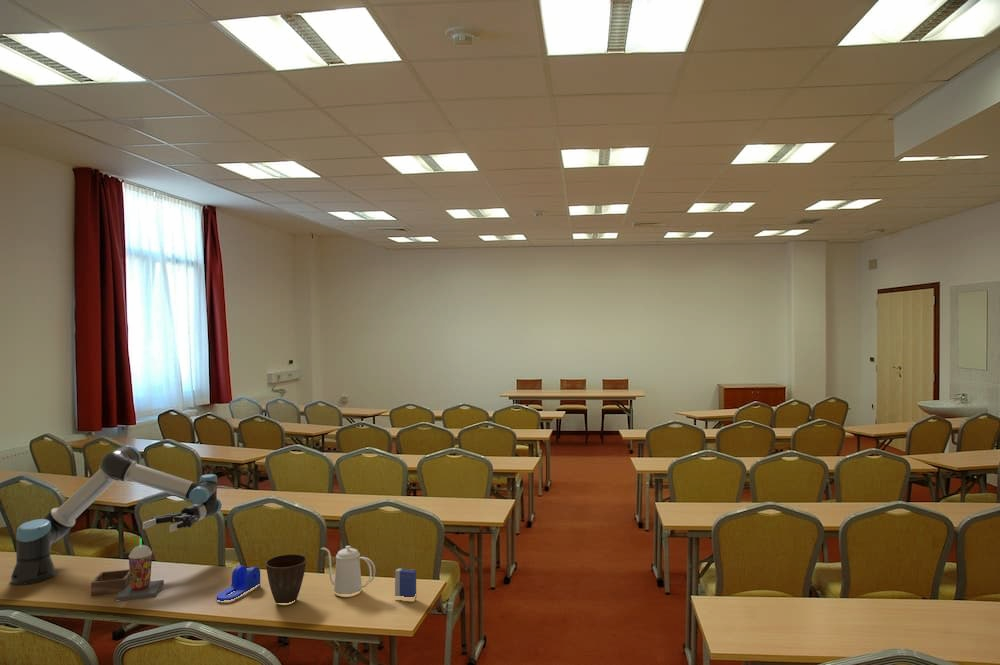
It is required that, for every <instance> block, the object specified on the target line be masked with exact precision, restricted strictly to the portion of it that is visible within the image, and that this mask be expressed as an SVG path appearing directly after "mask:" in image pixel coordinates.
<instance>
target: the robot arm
mask: <svg viewBox="0 0 1000 665" xmlns="http://www.w3.org/2000/svg"><path fill="white" fill-rule="evenodd" d="M141 460H142V456H141V453H140V451H139V450H138V449H137V448H136V447H135V446H131V445H122V446H119V447H118V448H116V449H114V450H111V451H109V452H107V453H106V454H105V455H104V456H102V459H101V461H100V464H99V465H98V466H99V469H98V470H97V471H96V472H95V473H94V474H93V475H92V476H91V477H89V478H88V480H87V481H85V482H84V484H82V486H80V487H79V488H78V489H76V491H74V493H73V494H72V495H70V496H69V497H68V498H67V500H66V501H64V502H63V503H62V504H61V505H60V506H59V507H54V508H52V509H50V511H48V512H47V514H46V515H44V516H43V517H42V518H38V519H33V520H30V521H26V522H23V523H22V524H20V525H18V528H17V529H16V534H15V537H16V538H15V539H16V552H15V553H16V554H15V555H16V556H15V557H16V563H15V565H14V568H13V570H12V573H11V575H10V583H11V582H12V583H11V584H13V583H15V584H14V585H25V584H24V583H31V584H35V583H34V582H36V583H40V582H43V581H46V580H48V578H49V579H51V578H53V577H54V576H55V575H56V567H55V565H54V562H53V560H52V556H51V547H52V545H53V544H54V543H56V542H57V541H59V540H60V539H62V538H63V539H64V538H65V537H66V535H67V534H68V533H69V531H70V530H71V529H72V528H73V527H74V526H75V525H76V519H77V518H79V517H80V516H81V514H82V513H83V512H85V510H86V509H88V508H89V506H91V505H92V504H93V503H94V502H95V501H96V500H97V499H99V497H100V496H101V495H102V494H103V493H104V492H105V491H107V489H108V488H109V487H111V486H112V485H113V484H114V482H126V483H127V482H128V481H130V482H133V483H136V484H139V485H143V486H145V487H149V488H152V489H155V490H159V491H162V492H165V493H169V494H172V495H175V496H177V497H181V498H182V499H183V498H184V499H187V500H189V501H190V502H191V503H192V505H190V506H187V507H184V508H183V509H181V511H180V512H177V513H174V512H171V513H168V514H167V513H166V514H162V515H155V516H151V517H150V520H145V521H143V522H142V530H146V529H149V528H152V527H155V526H156V525H159V524H166V523H171V524H169V533H172V532H175V531H177V530H180V529H183V528H191V527H192V526H193V525H194V524H195V523H196V522H199V521H201V520H203V519H205V518H208V517H212V516H215V515H216V514H218V513H219V512H220V511H221V509H222V502H221V500H220V499H219V498H218V496H217V494H218V475H216V474H214V473H213V474H212V473H209V474H203V475H201V476H200V477H199V481H198V483H197V482H194V481H191V480H188V479H186V478H182V477H179V476H176V475H172V474H170V473H167V472H165V471H160V470H158V469H154V468H151V467H148V466H146V465H142V464H140V463H141ZM53 575H54V576H53ZM52 576H53V577H52ZM50 577H51V578H50ZM45 579H46V580H45ZM42 580H43V581H42ZM39 581H40V582H39Z"/></svg>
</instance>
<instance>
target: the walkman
mask: <svg viewBox="0 0 1000 665" xmlns="http://www.w3.org/2000/svg"><path fill="white" fill-rule="evenodd" d="M394 575H395V576H394V597H395V596H404V597H414V596H415V594H416V595H417V570H416V569H414V568H410V569H408V568H407V569H406V568H401V567H399V568H397V569H396V570H394Z"/></svg>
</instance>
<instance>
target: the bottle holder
mask: <svg viewBox="0 0 1000 665" xmlns="http://www.w3.org/2000/svg"><path fill="white" fill-rule="evenodd" d="M129 583H130V569H129V568H128V569H118V570H108V571H107V570H106V571H101V572H100V573H99V574H98V575H97V576H96V577H95V578H94V579H93V580H92V581H91V582H90V596H97V595H98V596H99V595H108V593H110V594H117V593H116V592H120V591H121V589H122V588H126V586H127V585H128V584H129Z"/></svg>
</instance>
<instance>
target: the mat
mask: <svg viewBox="0 0 1000 665" xmlns="http://www.w3.org/2000/svg"><path fill="white" fill-rule="evenodd" d="M164 584H165V580H164V579H160V580H150V584H149V586H148V588H146V589H144V590H140V591H134V590H132V588H131V586H130V583H129V584H128V585H127V586H126V588H122V589H121V591H120V592H119V593H116V596H115V597H114V602H117V601H116V600H123V601H129V600H130V601H131V600H139V599H140V600H141V599H147V598H156V596H157V595H158V594H159V592H160V591H161V589H162V587H163V586H164Z"/></svg>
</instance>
